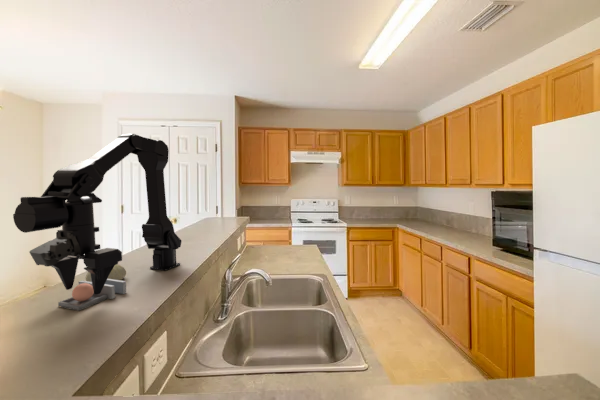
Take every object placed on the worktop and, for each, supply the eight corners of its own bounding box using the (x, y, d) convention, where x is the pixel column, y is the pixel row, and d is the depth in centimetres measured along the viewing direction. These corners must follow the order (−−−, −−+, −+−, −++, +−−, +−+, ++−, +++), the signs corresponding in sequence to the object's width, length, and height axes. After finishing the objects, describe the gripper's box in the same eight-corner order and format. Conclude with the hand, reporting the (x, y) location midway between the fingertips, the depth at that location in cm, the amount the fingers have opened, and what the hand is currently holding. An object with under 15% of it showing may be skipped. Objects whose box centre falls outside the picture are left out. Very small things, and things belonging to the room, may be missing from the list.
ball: (68, 303, 64) (67, 286, 64) (86, 296, 68) (85, 279, 67) (80, 305, 63) (79, 288, 62) (98, 298, 67) (97, 281, 66)
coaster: (87, 295, 69) (87, 291, 69) (107, 298, 67) (106, 294, 67) (58, 306, 63) (58, 302, 63) (78, 310, 61) (78, 306, 61)
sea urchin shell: (109, 282, 73) (89, 259, 74) (92, 301, 75) (73, 279, 75) (136, 270, 82) (118, 250, 83) (120, 287, 84) (103, 268, 84)
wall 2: (94, 287, 74) (93, 276, 74) (126, 292, 71) (125, 281, 70) (91, 288, 73) (90, 277, 73) (123, 294, 70) (122, 282, 70)
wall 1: (82, 292, 71) (81, 280, 71) (115, 297, 68) (114, 285, 68) (79, 293, 70) (78, 281, 70) (112, 299, 67) (111, 286, 67)
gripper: (6, 228, 59) (12, 300, 60) (68, 233, 53) (73, 313, 54) (65, 220, 70) (69, 282, 71) (122, 224, 64) (125, 291, 65)
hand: (83, 291), depth 65 cm, fingers open, 9 cm apart
